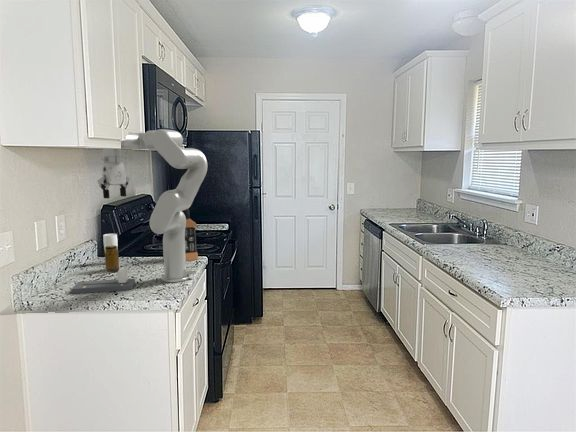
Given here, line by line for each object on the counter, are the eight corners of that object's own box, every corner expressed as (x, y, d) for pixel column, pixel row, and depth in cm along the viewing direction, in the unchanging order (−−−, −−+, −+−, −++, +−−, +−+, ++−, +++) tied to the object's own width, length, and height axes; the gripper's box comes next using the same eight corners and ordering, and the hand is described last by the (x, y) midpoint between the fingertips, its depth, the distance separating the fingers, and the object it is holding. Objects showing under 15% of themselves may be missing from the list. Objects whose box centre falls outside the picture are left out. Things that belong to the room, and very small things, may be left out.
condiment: (107, 268, 207) (106, 244, 205) (125, 268, 208) (124, 244, 206) (102, 272, 200) (101, 248, 198) (121, 272, 200) (119, 247, 199)
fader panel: (135, 282, 183) (134, 278, 183) (131, 289, 174) (131, 284, 173) (78, 286, 179) (78, 281, 179) (71, 293, 169) (71, 288, 169)
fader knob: (127, 279, 180) (127, 268, 179) (126, 282, 176) (125, 271, 175) (120, 280, 179) (119, 268, 179) (118, 283, 175) (117, 271, 174)
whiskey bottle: (198, 259, 223) (196, 200, 219) (179, 261, 219) (177, 201, 215) (193, 255, 233) (191, 198, 228) (175, 257, 228) (173, 199, 224)
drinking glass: (118, 264, 215) (116, 235, 213) (104, 265, 213) (102, 236, 211) (119, 260, 221) (117, 233, 219) (105, 261, 220) (103, 233, 217)
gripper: (102, 160, 183) (105, 199, 186) (133, 160, 199) (135, 195, 201) (91, 160, 187) (93, 198, 189) (121, 160, 202) (123, 195, 205)
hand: (115, 197), depth 195 cm, fingers open, 9 cm apart
